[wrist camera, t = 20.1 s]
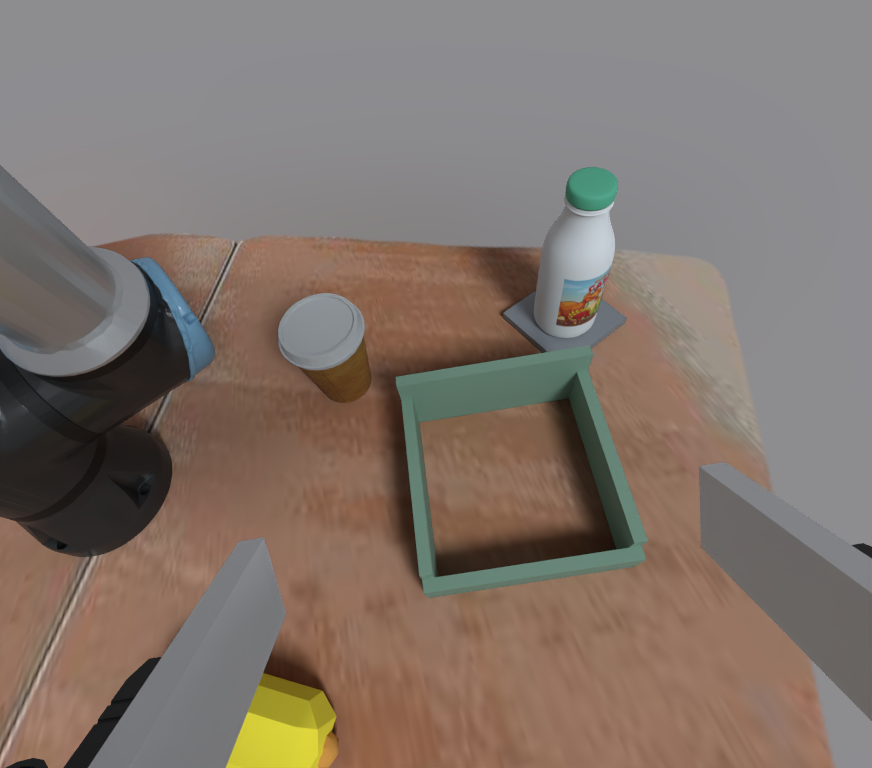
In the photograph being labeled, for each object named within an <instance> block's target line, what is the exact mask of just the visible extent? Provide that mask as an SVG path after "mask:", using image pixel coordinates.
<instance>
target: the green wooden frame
mask: <svg viewBox="0 0 872 768" xmlns="http://www.w3.org/2000/svg"><path fill="white" fill-rule="evenodd" d="M592 357H593V352H592V350H591V347H590V345H588V346H582V347H576V348H570V349H564V350H557V351H551V352H545V353H539V354H533V355H527V356H521V357H515V358H508V359H502V360H496V361H490V362H484V363H478V364H472V365H466V366H459V367H453V368H447V369H441V370H435V371H429V372H423V373H417V374H410V375H404V376H398V377H396V386H397V389H398V392H399V395H400V398H401V402H402V412H403V421H404V431H405V441H406V451H407V461H408V470H409V480H410V490H411V500H412V509H413V519H414V529H415V539H416V548H417V558H418V568H419V576H420V578H421V579H422V582H423V592H424V594H425V595H426V596H427V597H428V598H432V597H439V596H445V595H452V594H458V593H465V592H471V591H478V590H485V589H491V588H498V587H504V586H511V585H517V584H524V583H530V582H537V581H544V580H550V579H557V578H563V577H570V576H576V575H583V574H590V573H596V572H603V571H609V570H616V569H622V568H629V567H635V566H636V565H638V564H640V563H641V562H643V561H645V560H646V557H645V554H644V551H643V548H642V545H643V544H645V543H646V542H648V540H647V537H646V534H645V531H644V528H643V525H642V523H641V520H640V517H639V514H638V511H637V508H636V505H635V503H634V500H633V497H632V494H631V491H630V488H629V486H628V483H627V480H626V477H625V474H624V471H623V468H622V466H621V463H620V460H619V457H618V454H617V451H616V448H615V446H614V443H613V440H612V437H611V434H610V431H609V429H608V426H607V423H606V420H605V417H604V414H603V411H602V409H601V406H600V403H599V400H598V397H597V394H596V391H595V389H594V386H593V383H592V380H591V377H590V374H589V371H588V369H589V366H590V363H591V360H592ZM568 398H569V400H570V403H571V407H572V410H573V413H574V416H575V419H576V423H577V426H578V429H579V432H580V435H581V438H582V442H583V445H584V448H585V451H586V454H587V458H588V461H589V464H590V467H591V470H592V473H593V477H594V480H595V483H596V486H597V489H598V493H599V496H600V499H601V502H602V505H603V508H604V512H605V515H606V518H607V521H608V524H609V528H610V531H611V534H612V537H613V540H614V544H615V547H616V550H611V551H604V552H598V553H591V554H585V555H578V556H572V557H565V558H559V559H552V560H546V561H539V562H533V563H526V564H520V565H513V566H507V567H500V568H493V569H487V570H480V571H474V572H467V573H461V574H454V575H448V576H441V577H438V570H437V562H436V554H435V546H434V537H433V529H432V521H431V513H430V505H429V496H428V488H427V480H426V472H425V464H424V455H423V447H422V439H421V431H420V423H419V422H425V421H431V420H437V419H443V418H450V417H456V416H462V415H468V414H475V413H481V412H487V411H493V410H499V409H506V408H512V407H518V406H524V405H531V404H537V403H543V402H549V401H555V400H562V399H568Z"/></svg>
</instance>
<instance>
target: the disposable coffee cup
mask: <svg viewBox="0 0 872 768" xmlns="http://www.w3.org/2000/svg"><path fill="white" fill-rule="evenodd" d="M364 329H365V324H364V318H363V316H362V314H361V312H360V310H359V309H358V308H357V307H356V306H355V305H354V304H352V303H351V302H349V301H348V300H347V299H346V298H344V297H342V296H339V295H336V294H331V293H320V294H316V295H311V296H308V297H306V298H304V299H302V300H300V301H298V302H296V303H295V304H294V305H292V306H291V307H290V308H289V309H288V310H287V311H286V313H285V314H284V316H283V317H282V319H281V321H280V324H279V328H278V344H279V348H280V351H281V353H282V354H283V356H284V357H285V358H286V359H287V360H288V361H289V362H290V363H292V364H294V365H296V366H298V367H299V368H300V369H301V370H302V371H303V372H304V373H305V374H306V375H307V376H308V377H309V378H310V379H311V380H312V381H313V382H314V383H315V384H316V385H317V386H318V387H319V388H320V389H321V390H322V391H323V392H324V393H325V394H326V395H327V396H328V397H329V398H330V399H332V400H334V401H336V402H341V403H345V402H351V401H354V400H357V399H358V398H360V397H362V396H363V395H364V394H365V393H366V391H367V390H368V389H369V387H370V384H371V372H370V367H369V362H368V357H367V351H366V345H365V340H364Z"/></svg>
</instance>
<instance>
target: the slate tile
mask: <svg viewBox="0 0 872 768" xmlns="http://www.w3.org/2000/svg"><path fill="white" fill-rule="evenodd" d="M535 295H536V290H535V291H534V292H532V293H531V294H530V295H528V296H527V297H525V298H524V299H522V300H521V301H520V302H518V303H517V304H515V305H514V306H512V307H511V308H509V309H508V310H507V311H505V312H504V313H503V318H504V319H505V320H506V321H507V322H509V323H510V324H511V325H512V326H513V327H514V328H515V329H516V330H518V331H519V332H520V333H521V334H522V335H523V336H524V337H525V338H527V339H528V340H529V341H530V342H531V343H532V344H533V345H534V346H536V347H537V348H538V349H539V350H540V351H541V352H542V353H545V352H551V351H557V350H564V349H570V348H576V347H582V346H588V345H590V347H591V349H592V348H593V347H594V346H596V345H597V344H598V343H599V342H601V341H602V340H603V339H605V338H606V337H607V336H609V335H610V334H611V333H612V332H614V331H615V330H616V329H618V328H619V327H620V326H622V325H623V324H624V323H625V322H626V319H627V318H626V317H625V316H624V315H622V314H621V313H620V312H618V311H617V310H616V309H614V308H613V307H612V306H610V305H609V304H608V303H606V302H605V301H604V300H602V299H601V302H600V305H599V308H598V311H597V315H596V317H595V320H594V323H593V325H592V326H591V327H590V329H589V330H587V331H586V332H585V333H583V334H582V335H579V336H577V337H574V338H558V337H554V336H551V335H549V334H547V333H545V332H544V331H543V330H542V329H541V328H540V327H539V326H538V324H537V323H536V321H535V318H534V303H535Z"/></svg>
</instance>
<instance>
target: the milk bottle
mask: <svg viewBox="0 0 872 768" xmlns="http://www.w3.org/2000/svg"><path fill="white" fill-rule="evenodd" d="M617 189H618V181H617V178H616V177H615V176H614V175H613V174H612V173H611V172H609V171H607V170H605V169H602V168H597V167H588V168H583V169H580V170H577V171H576V172H574V173H573V174H572V175H571V176H570V177H569V179H568V182H567V186H566V195H565V204H566V206H565V208H564V210H563V212H562V213H561V215H560V216H559V217H558V219H557V220H556V221H555V222H554V224H553V225H552V227H551V228H550V230H549V231H548V234H547V236H546V238H545V241H544V244H543V248H542V254H541V259H540V266H539V273H538V280H537V288H536V295H535V303H534V318H535V321H536V323H537V324H538V326H539V327H540V328H541V329H542V330H543V331H544V332H545V333H547V334H549V335H551V336H554V337H558V338H574V337H577V336H579V335H582V334H583V333H585V332H586V331H587V330H589V329H590V327H591V326H592V325H593V323H594V320H595V317H596V315H597V311H598V308H599V305H600V302H601V299H602V296H603V292H604V289H605V286H606V283H607V279H608V276H609V273H610V269H611V265H612V261H613V258H614V251H615V238H614V233H613V229H612V226H611V222H610V217H609V210H610V209H611V208H612V206H613V204H614V199H615V197H616V194H617Z"/></svg>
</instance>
